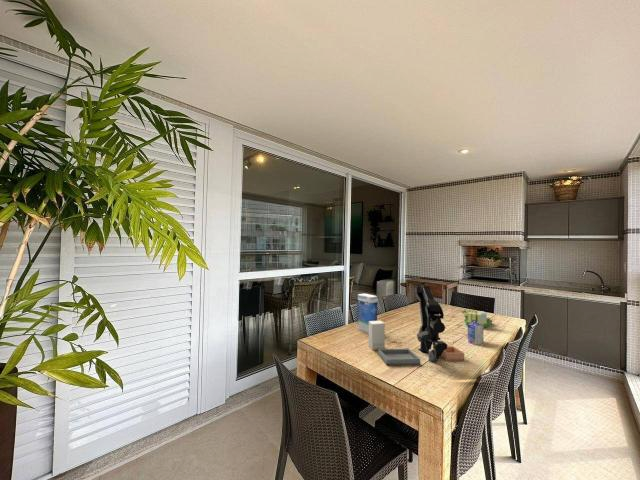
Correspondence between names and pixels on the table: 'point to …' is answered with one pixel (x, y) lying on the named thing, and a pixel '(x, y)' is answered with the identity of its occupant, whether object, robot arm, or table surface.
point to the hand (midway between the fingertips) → (432, 356)
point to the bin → (452, 354)
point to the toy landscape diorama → (477, 318)
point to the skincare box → (376, 335)
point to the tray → (398, 357)
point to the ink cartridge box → (475, 333)
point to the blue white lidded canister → (366, 311)
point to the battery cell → (432, 355)
